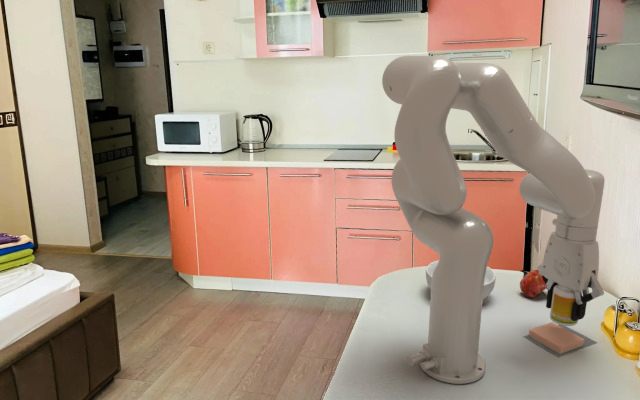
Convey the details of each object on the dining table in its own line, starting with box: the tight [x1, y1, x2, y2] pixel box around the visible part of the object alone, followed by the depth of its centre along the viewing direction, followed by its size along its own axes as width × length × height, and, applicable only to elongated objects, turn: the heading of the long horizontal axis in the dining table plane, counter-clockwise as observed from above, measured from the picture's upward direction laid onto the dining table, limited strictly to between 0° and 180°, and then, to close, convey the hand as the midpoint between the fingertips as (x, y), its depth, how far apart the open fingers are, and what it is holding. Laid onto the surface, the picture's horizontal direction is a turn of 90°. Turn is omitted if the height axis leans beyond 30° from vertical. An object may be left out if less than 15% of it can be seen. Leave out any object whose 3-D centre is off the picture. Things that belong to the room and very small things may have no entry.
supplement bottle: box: [549, 284, 582, 327], centre depth 110 cm, size 5×5×10 cm
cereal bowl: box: [425, 259, 496, 300], centre depth 133 cm, size 17×17×7 cm
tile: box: [528, 321, 584, 354], centre depth 112 cm, size 2×8×7 cm
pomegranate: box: [519, 269, 547, 299], centre depth 132 cm, size 7×7×10 cm
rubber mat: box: [522, 324, 598, 358], centre depth 113 cm, size 12×9×1 cm
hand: (564, 312), depth 111 cm, fingers closed on supplement bottle, 5 cm apart
